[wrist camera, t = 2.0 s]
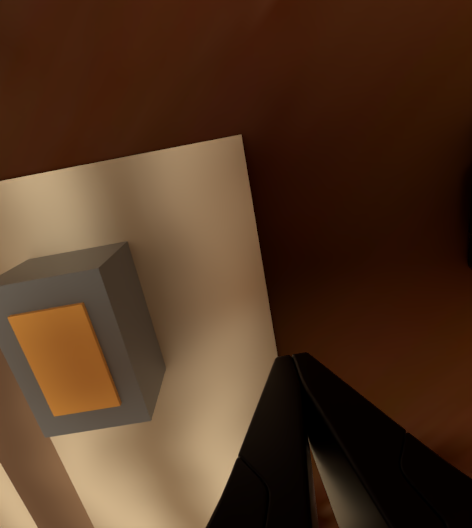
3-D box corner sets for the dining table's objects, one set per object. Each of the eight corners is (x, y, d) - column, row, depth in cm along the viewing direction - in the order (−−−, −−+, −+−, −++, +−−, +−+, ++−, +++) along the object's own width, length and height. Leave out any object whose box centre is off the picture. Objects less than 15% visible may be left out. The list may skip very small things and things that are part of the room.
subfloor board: (240, 135, 12) (241, 134, 11) (305, 531, 20) (309, 550, 19) (-248, 229, 13) (-284, 236, 12) (-6, 575, 21) (-17, 596, 20)
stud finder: (127, 240, 13) (96, 270, 10) (166, 368, 15) (150, 424, 12) (28, 259, 13) (-33, 292, 10) (79, 382, 15) (42, 441, 12)
